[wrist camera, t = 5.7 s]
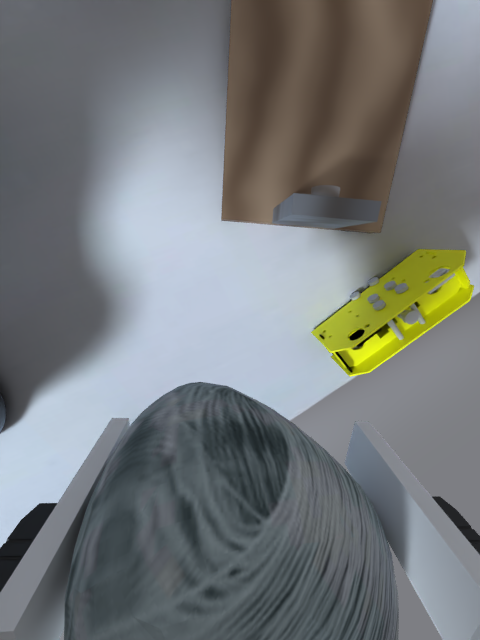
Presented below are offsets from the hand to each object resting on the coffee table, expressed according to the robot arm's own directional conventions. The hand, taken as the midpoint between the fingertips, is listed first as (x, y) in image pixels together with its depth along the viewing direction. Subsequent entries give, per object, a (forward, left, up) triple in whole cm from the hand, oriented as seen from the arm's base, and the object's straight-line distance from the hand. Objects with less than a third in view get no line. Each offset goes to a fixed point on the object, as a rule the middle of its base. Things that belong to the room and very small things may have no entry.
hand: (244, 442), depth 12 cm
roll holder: (+7, +24, -20) cm, 32 cm away
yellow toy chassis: (+18, +3, -20) cm, 27 cm away
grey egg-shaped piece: (-1, 0, -2) cm, 2 cm away
